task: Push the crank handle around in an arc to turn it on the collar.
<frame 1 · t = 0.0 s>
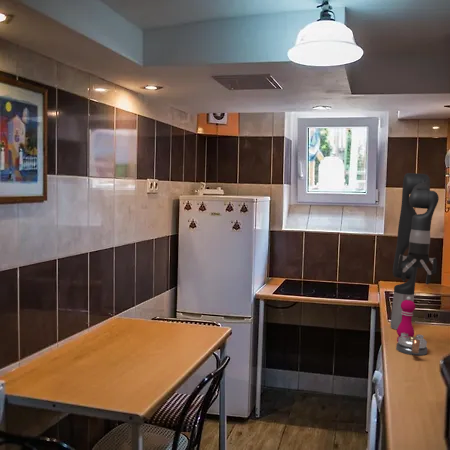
hand: (415, 282, 215), 29 cm above the kitchen counter, tool pointing down, fingers open, 8 cm apart
crank handle: (413, 341, 220), point 5 cm above the kitchen counter, hinge at 0.0°
pepper mill: (404, 342, 237), on the kitchen counter
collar: (411, 350, 225), on the kitchen counter
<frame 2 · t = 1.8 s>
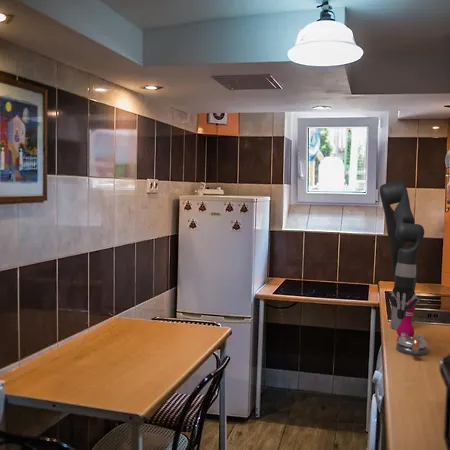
hand: (400, 319, 214), 15 cm above the kitchen counter, tool pointing down, fingers closed
nothing on the kitchen counter moved.
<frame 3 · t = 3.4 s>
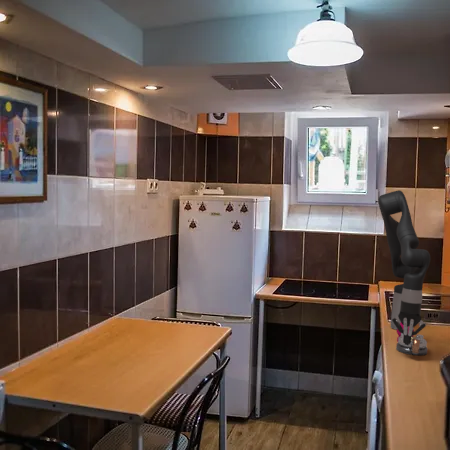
hand: (406, 344, 213), 6 cm above the kitchen counter, tool pointing down, fingers closed
crank handle: (413, 341, 220), point 5 cm above the kitchen counter, hinge at 0.1°, touching gripper
everything else where it was.
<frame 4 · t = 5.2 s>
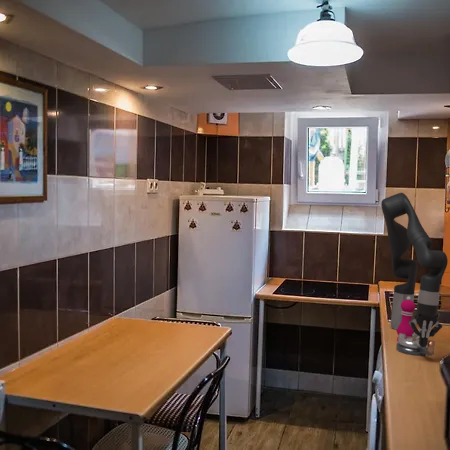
hand: (422, 346, 211), 6 cm above the kitchen counter, tool pointing down, fingers closed
crank handle: (418, 341, 220), point 5 cm above the kitchen counter, hinge at 25.7°, touching gripper
everything else where it was.
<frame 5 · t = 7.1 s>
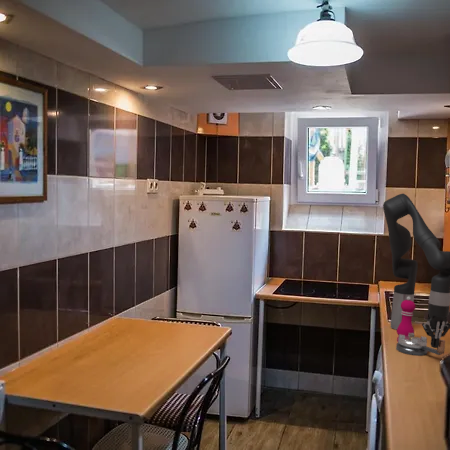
hand: (434, 347, 212), 6 cm above the kitchen counter, tool pointing down, fingers closed
crank handle: (421, 341, 221), point 5 cm above the kitchen counter, hinge at 48.5°
everything else where it was.
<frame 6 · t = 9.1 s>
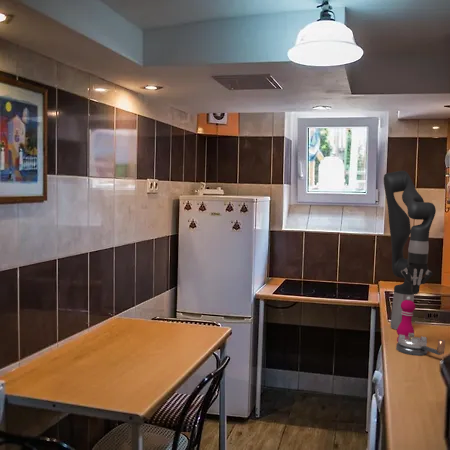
hand: (415, 293, 224), 24 cm above the kitchen counter, tool pointing down, fingers closed
nothing on the kitchen counter moved.
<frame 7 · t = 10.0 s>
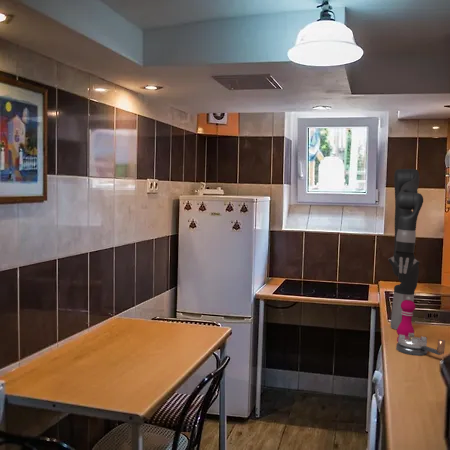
hand: (401, 282, 229), 27 cm above the kitchen counter, tool pointing down, fingers closed
nothing on the kitchen counter moved.
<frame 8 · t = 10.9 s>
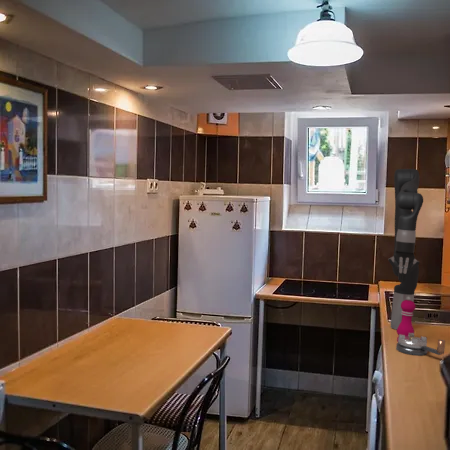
hand: (401, 282, 229), 27 cm above the kitchen counter, tool pointing down, fingers closed
nothing on the kitchen counter moved.
at the end: crank handle at +48° (first picture: +0°); pepper mill moved 0.2 cm from its start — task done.
